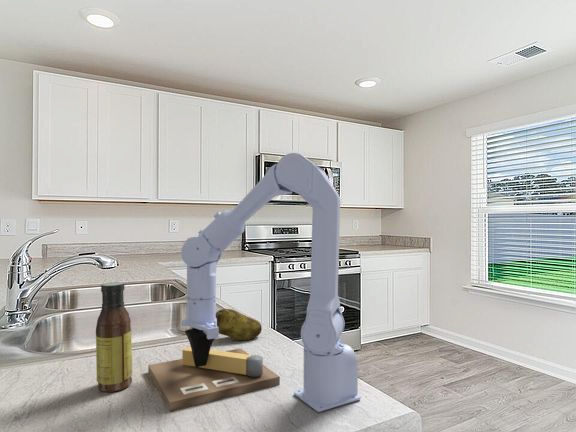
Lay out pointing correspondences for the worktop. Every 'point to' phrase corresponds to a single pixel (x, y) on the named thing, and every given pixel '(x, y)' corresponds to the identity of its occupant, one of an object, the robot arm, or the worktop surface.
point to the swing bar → (228, 362)
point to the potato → (237, 325)
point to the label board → (203, 383)
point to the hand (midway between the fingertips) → (200, 365)
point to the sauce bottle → (113, 340)
